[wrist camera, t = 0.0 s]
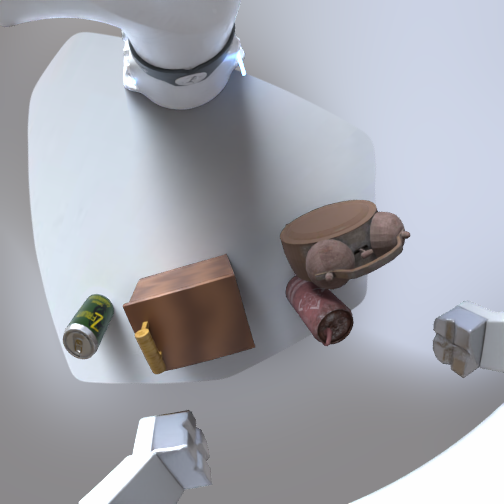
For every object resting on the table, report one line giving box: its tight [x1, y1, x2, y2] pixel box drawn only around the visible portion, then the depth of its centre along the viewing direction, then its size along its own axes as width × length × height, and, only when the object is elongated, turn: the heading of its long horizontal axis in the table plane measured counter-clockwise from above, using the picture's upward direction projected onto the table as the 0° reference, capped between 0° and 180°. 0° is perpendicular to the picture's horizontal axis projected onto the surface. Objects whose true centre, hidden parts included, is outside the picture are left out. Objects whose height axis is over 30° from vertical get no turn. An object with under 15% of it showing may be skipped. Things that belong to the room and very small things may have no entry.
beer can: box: [63, 294, 114, 359], centre depth 39 cm, size 5×5×12 cm
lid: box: [123, 273, 255, 374], centre depth 37 cm, size 15×12×5 cm
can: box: [286, 276, 353, 346], centre depth 44 cm, size 6×6×14 cm
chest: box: [129, 254, 234, 302], centre depth 44 cm, size 15×12×9 cm
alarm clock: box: [280, 200, 410, 289], centre depth 39 cm, size 15×7×20 cm, turn 113°
